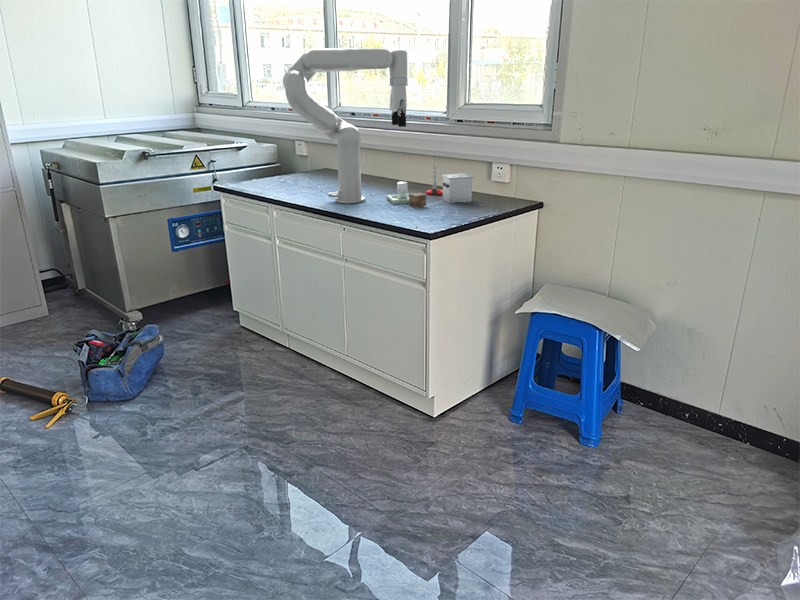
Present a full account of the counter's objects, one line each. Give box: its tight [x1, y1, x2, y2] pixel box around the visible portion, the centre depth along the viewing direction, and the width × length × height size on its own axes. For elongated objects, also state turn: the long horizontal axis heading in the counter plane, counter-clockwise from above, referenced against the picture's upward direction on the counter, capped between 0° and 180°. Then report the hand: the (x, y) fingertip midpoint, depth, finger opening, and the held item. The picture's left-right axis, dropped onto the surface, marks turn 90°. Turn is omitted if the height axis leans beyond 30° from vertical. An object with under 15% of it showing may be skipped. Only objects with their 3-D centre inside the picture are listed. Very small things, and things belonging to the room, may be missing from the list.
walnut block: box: [408, 192, 427, 209], centre depth 237 cm, size 5×5×5 cm
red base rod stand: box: [425, 165, 443, 196], centre depth 261 cm, size 8×13×9 cm
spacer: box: [396, 181, 409, 200], centre depth 246 cm, size 4×4×7 cm
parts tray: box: [386, 193, 410, 205], centre depth 247 cm, size 11×11×2 cm
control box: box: [441, 172, 474, 204], centre depth 245 cm, size 11×9×11 cm
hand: (398, 125), depth 244 cm, fingers open, 9 cm apart
